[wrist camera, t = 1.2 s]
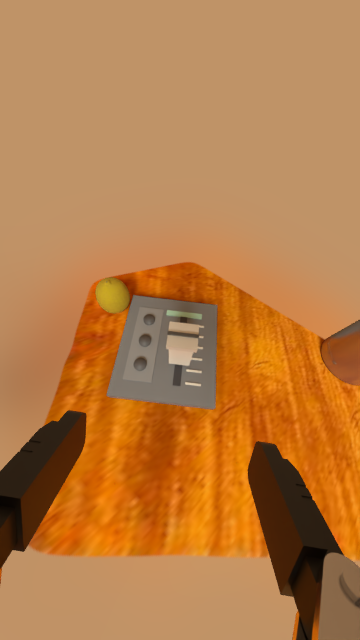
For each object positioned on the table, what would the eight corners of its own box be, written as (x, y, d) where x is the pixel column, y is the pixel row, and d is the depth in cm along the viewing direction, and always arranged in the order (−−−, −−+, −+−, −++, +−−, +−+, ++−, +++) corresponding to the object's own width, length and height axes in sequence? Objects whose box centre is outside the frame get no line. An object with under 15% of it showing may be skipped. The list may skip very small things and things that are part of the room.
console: (215, 310, 40) (217, 303, 37) (212, 409, 31) (216, 407, 29) (134, 301, 40) (132, 293, 37) (109, 397, 31) (105, 394, 29)
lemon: (118, 291, 41) (107, 263, 33) (139, 306, 39) (131, 279, 32) (98, 309, 38) (81, 283, 31) (118, 326, 37) (105, 302, 30)
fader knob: (192, 347, 33) (199, 323, 25) (190, 368, 31) (198, 349, 24) (169, 344, 33) (169, 320, 25) (166, 365, 31) (165, 345, 24)
